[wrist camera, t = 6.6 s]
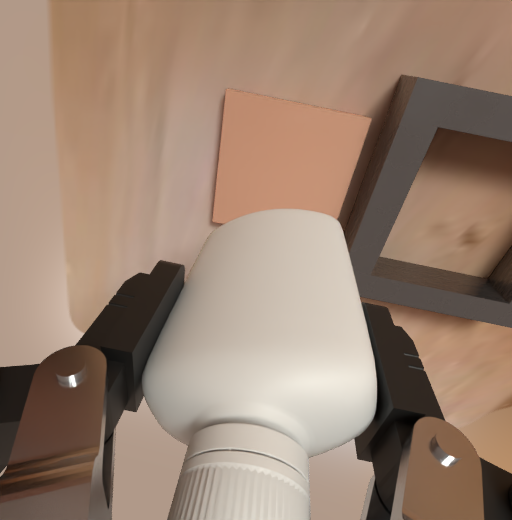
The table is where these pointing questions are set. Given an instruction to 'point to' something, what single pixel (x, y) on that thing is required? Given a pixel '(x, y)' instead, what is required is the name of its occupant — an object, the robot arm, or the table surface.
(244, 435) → the eye dropper bottle
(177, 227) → the table surface
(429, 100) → the socket plate
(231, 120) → the terracotta tile
